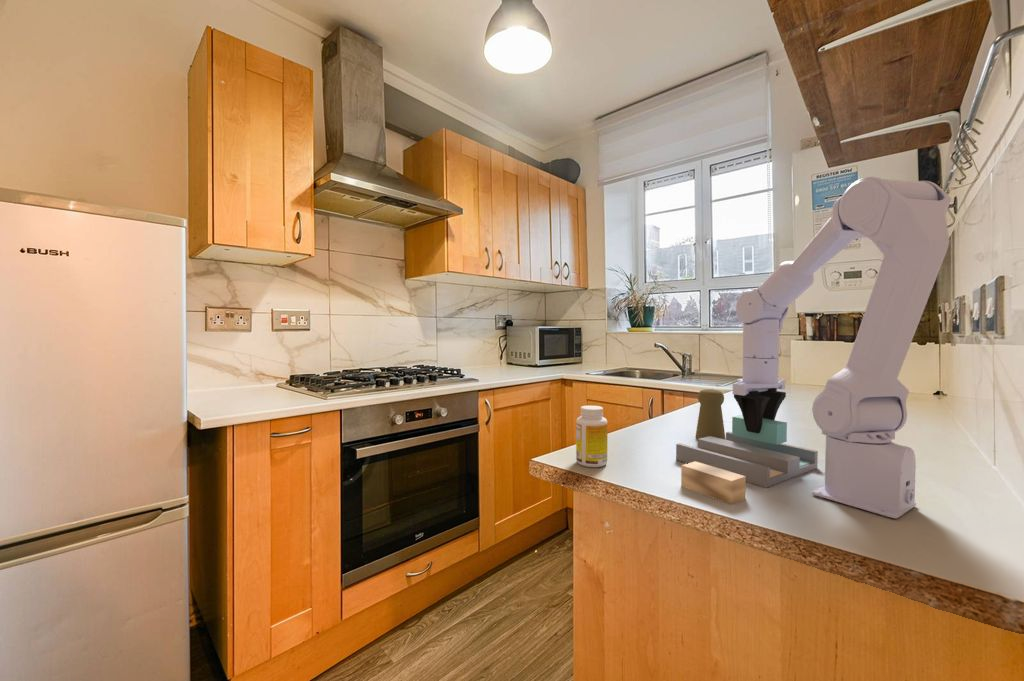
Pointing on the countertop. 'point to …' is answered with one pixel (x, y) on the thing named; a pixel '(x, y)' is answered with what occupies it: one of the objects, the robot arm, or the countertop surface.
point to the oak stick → (714, 482)
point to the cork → (710, 414)
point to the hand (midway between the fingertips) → (759, 430)
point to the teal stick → (769, 431)
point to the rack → (750, 458)
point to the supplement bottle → (591, 437)
